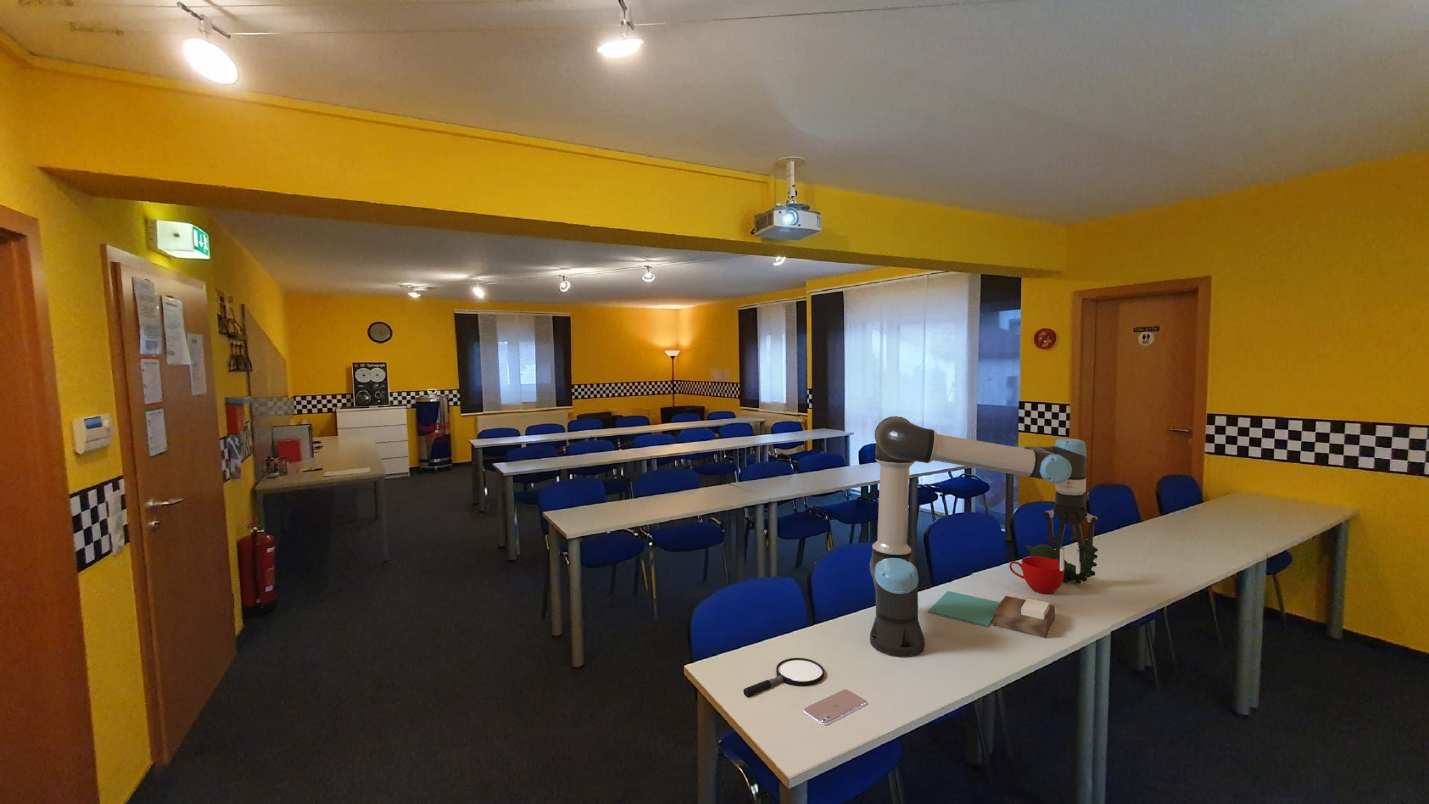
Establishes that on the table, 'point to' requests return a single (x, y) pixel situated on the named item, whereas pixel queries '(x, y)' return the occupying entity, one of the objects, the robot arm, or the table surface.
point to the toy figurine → (1068, 568)
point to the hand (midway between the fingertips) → (1070, 570)
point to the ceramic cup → (1041, 574)
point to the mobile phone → (834, 707)
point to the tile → (1035, 608)
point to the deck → (1021, 618)
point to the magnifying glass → (791, 675)
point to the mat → (965, 608)
